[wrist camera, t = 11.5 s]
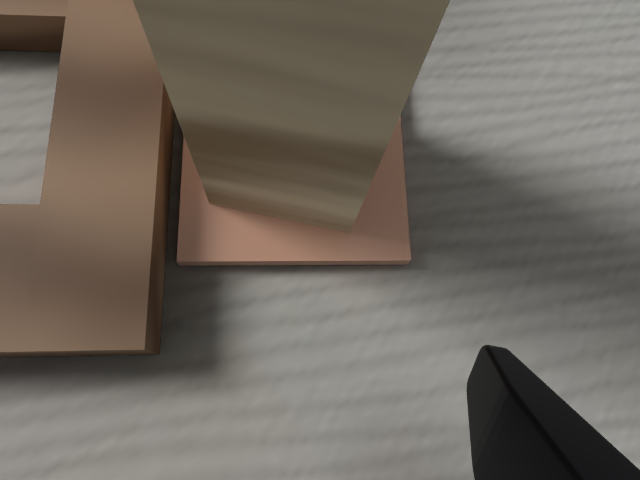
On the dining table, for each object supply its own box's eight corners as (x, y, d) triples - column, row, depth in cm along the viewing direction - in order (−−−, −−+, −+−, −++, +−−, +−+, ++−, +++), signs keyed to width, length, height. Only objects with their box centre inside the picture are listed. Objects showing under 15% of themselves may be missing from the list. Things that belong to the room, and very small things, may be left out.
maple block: (350, 233, 18) (500, -116, 6) (209, 203, 18) (52, -215, 6) (373, 109, 20) (533, -384, 7) (243, 81, 20) (177, -464, 7)
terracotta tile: (407, 264, 19) (411, 260, 18) (180, 265, 18) (176, 261, 17) (393, 70, 21) (396, 61, 20) (190, 65, 20) (188, 56, 20)
